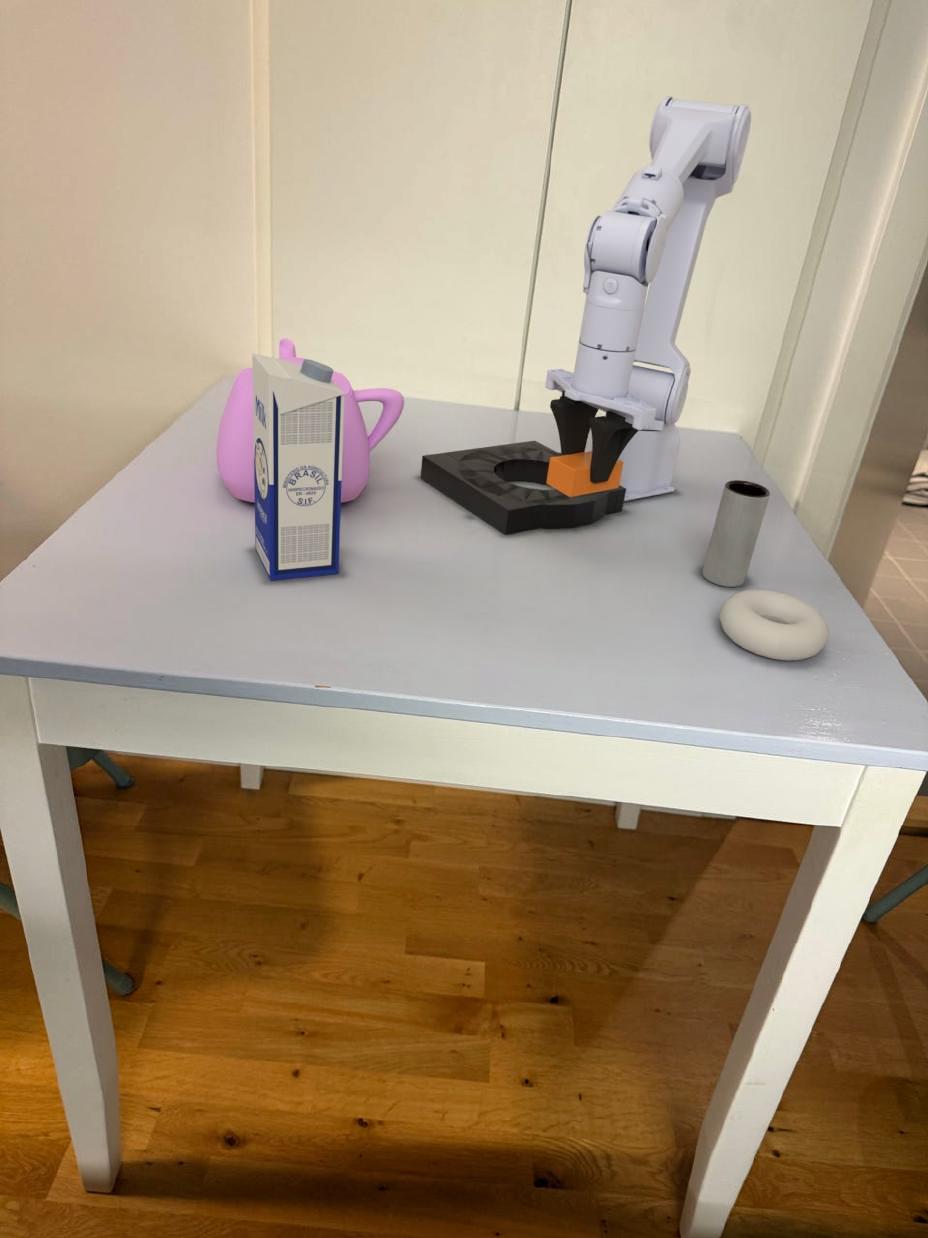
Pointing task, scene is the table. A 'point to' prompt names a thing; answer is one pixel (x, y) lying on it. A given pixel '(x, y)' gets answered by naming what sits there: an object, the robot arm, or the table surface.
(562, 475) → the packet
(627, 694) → the table surface
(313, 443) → the milk carton
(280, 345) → the teapot
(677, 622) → the table surface
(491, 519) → the square plate with hole
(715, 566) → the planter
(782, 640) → the donut
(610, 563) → the table surface
